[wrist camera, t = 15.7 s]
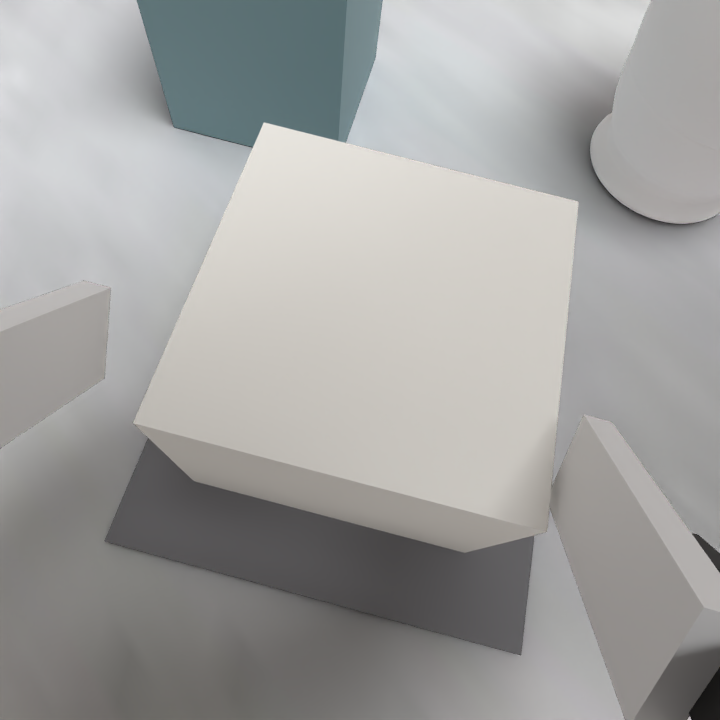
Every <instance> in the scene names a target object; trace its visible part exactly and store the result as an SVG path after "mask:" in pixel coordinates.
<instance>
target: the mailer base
mask: <svg viewBox="0 0 720 720" xmlns="http://www.w3.org/2000/svg"><path fill="white" fill-rule="evenodd" d="M137 3H138V6H139V9H140V13H141V16H142V20H143V23H144V26H145V30H146V33H147V37H148V40H149V44H150V47H151V50H152V54H153V57H154V61H155V64H156V67H157V71H158V74H159V78H160V81H161V85H162V88H163V91H164V95H165V98H166V102H167V105H168V108H169V112H170V115H171V119H172V122H173V126H174V127H176V128H180V129H184V130H188V131H192V132H196V133H199V134H203V135H207V136H211V137H215V138H219V139H223V140H227V141H231V142H234V143H238V144H242V145H246V146H250V147H253V146H254V144H255V142H256V139H257V137H258V135H259V132H260V130H261V128H262V125H263V123H264V122H265V123H269V124H273V125H276V126H280V127H284V128H288V129H292V130H296V131H300V132H304V133H308V134H312V135H316V136H320V137H324V138H328V139H332V140H336V141H340V142H344V143H346V140H347V137H348V135H349V132H350V129H351V126H352V123H353V120H354V117H355V115H356V112H357V109H358V106H359V103H360V100H361V97H362V95H363V92H364V89H365V86H366V83H367V80H368V77H369V75H370V72H371V69H372V66H373V63H374V60H375V57H376V49H377V41H378V33H379V25H380V17H381V9H382V0H137Z"/></svg>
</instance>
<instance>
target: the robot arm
mask: <svg viewBox="0 0 720 720" xmlns="http://www.w3.org/2000/svg"><path fill="white" fill-rule="evenodd" d="M110 295H111V288H110V287H107V286H103V285H99V284H96V283H92V282H88V281H81V282H78V283H75V284H72V285H69V286H66V287H64V288H61V289H58V290H55V291H52V292H49V293H46V294H43V295H40V296H38V297H35V298H32V299H29V300H26V301H23V302H20V303H17V304H14V305H11V306H9V307H6V308H3V309H0V448H2V447H3V446H5V445H6V444H8V443H9V442H11V441H12V440H14V439H15V438H17V437H18V436H19V435H21V434H22V433H24V432H25V431H27V430H28V429H30V428H31V427H33V426H34V425H36V424H37V423H39V422H40V421H42V420H43V419H45V418H46V417H48V416H49V415H51V414H52V413H54V412H55V411H57V410H58V409H60V408H61V407H63V406H64V405H66V404H67V403H69V402H70V401H72V400H73V399H75V398H76V397H78V396H79V395H81V394H82V393H84V392H85V391H87V390H88V389H90V388H91V387H92V386H94V385H95V384H97V383H98V382H100V381H101V380H103V379H104V378H105V367H106V353H107V338H108V324H109V309H110ZM550 510H551V513H552V516H553V518H554V521H555V524H556V527H557V530H558V532H559V535H560V538H561V541H562V544H563V546H564V549H565V552H566V555H567V558H568V560H569V563H570V566H571V569H572V572H573V575H574V577H575V580H576V583H577V586H578V589H579V591H580V594H581V597H582V600H583V603H584V605H585V608H586V611H587V614H588V617H589V620H590V622H591V625H592V628H593V631H594V634H595V636H596V639H597V642H598V645H599V648H600V650H601V653H602V656H603V659H604V662H605V665H606V667H607V670H608V673H609V676H610V679H611V681H612V684H613V687H614V690H615V693H616V695H617V698H618V701H619V704H620V707H621V709H622V712H623V715H624V718H625V720H687V719H688V717H689V716H690V717H691V719H692V720H720V553H718V552H717V551H716V550H715V549H714V548H713V547H712V546H710V545H709V544H708V543H707V542H706V541H705V540H704V539H702V538H701V537H700V536H699V535H697V534H693V533H691V532H690V531H689V529H688V528H687V526H686V525H685V524H684V522H683V521H682V519H681V518H680V517H679V515H678V514H677V512H676V511H675V510H674V508H673V507H672V505H671V504H670V503H669V501H668V500H667V498H666V497H665V496H664V494H663V493H662V491H661V490H660V489H659V487H658V486H657V484H656V483H655V482H654V480H653V479H652V477H651V476H650V474H649V473H648V472H647V470H646V469H645V467H644V466H643V465H642V463H641V462H640V460H639V459H638V458H637V456H636V455H635V453H634V452H633V451H632V449H631V448H630V446H629V445H628V444H627V442H626V441H625V439H624V438H623V437H622V435H621V434H620V432H619V431H618V430H617V428H616V427H615V425H614V424H613V423H612V422H611V421H607V420H603V419H599V418H596V417H592V416H588V415H583V417H582V419H581V422H580V424H579V426H578V428H577V431H576V433H575V435H574V438H573V440H572V442H571V444H570V447H569V449H568V451H567V453H566V456H565V458H564V460H563V462H562V465H561V467H560V469H559V471H558V474H557V476H556V478H555V481H554V483H553V485H552V487H551V497H550Z"/></svg>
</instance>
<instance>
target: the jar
mask: <svg viewBox="0 0 720 720" xmlns="http://www.w3.org/2000/svg"><path fill="white" fill-rule="evenodd" d="M590 155H591V161H592V164H593V167H594V170H595V172H596V174H597V176H598V178H599V180H600V181H601V183H602V184H603V185H604V187H605V188H606V189H607V190H608V191H609V192H610V193H611V194H612V195H613V196H614V197H615V198H616V199H617V200H618V201H620V202H621V203H622V204H624V205H625V206H627V207H628V208H630V209H631V210H633V211H635V212H637V213H639V214H641V215H643V216H646V217H648V218H651V219H654V220H658V221H662V222H667V223H676V224H687V223H695V222H700V221H704V220H706V219H709V218H711V217H713V216H715V215H717V214H718V213H720V0H651V2H650V4H649V6H648V8H647V11H646V13H645V15H644V18H643V20H642V23H641V25H640V28H639V31H638V33H637V36H636V39H635V42H634V45H633V47H632V49H631V51H630V53H629V55H628V57H627V60H626V62H625V64H624V67H623V70H622V72H621V75H620V78H619V81H618V84H617V88H616V92H615V97H614V103H613V111H612V112H611V113H610V114H609V115H607V116H606V117H605V118H604V119H603V120H602V121H601V122H600V123H599V125H598V126H597V127H596V129H595V131H594V133H593V136H592V139H591V145H590Z"/></svg>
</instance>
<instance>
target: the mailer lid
mask: <svg viewBox="0 0 720 720" xmlns="http://www.w3.org/2000/svg"><path fill="white" fill-rule="evenodd" d="M578 203H579V202H578V201H574V200H570V199H566V198H562V197H558V196H555V195H551V194H547V193H543V192H539V191H535V190H531V189H527V188H523V187H519V186H515V185H511V184H507V183H503V182H499V181H495V180H491V179H487V178H483V177H479V176H475V175H471V174H467V173H463V172H459V171H455V170H451V169H447V168H443V167H439V166H435V165H431V164H427V163H423V162H419V161H415V160H412V159H408V158H404V157H400V156H396V155H392V154H388V153H384V152H380V151H376V150H372V149H368V148H364V147H360V146H356V145H352V144H348V143H344V142H340V141H336V140H332V139H328V138H324V137H320V136H316V135H312V134H308V133H304V132H300V131H296V130H292V129H288V128H284V127H280V126H276V125H273V124H269V123H265V122H264V123H263V125H262V128H261V130H260V132H259V135H258V137H257V139H256V142H255V144H254V146H253V148H252V151H251V153H250V155H249V158H248V160H247V162H246V164H245V167H244V169H243V171H242V174H241V176H240V178H239V180H238V183H237V185H236V187H235V190H234V192H233V194H232V197H231V199H230V201H229V203H228V206H227V208H226V210H225V213H224V215H223V217H222V219H221V222H220V224H219V226H218V229H217V231H216V233H215V235H214V238H213V240H212V242H211V245H210V247H209V249H208V252H207V254H206V256H205V258H204V261H203V263H202V265H201V268H200V270H199V272H198V274H197V277H196V279H195V281H194V284H193V286H192V288H191V290H190V293H189V295H188V297H187V300H186V302H185V304H184V306H183V309H182V311H181V313H180V316H179V318H178V320H177V323H176V325H175V327H174V329H173V332H172V334H171V336H170V339H169V341H168V343H167V345H166V348H165V350H164V352H163V355H162V357H161V359H160V361H159V364H158V366H157V368H156V371H155V373H154V375H153V378H152V380H151V382H150V384H149V387H148V389H147V391H146V394H145V396H144V398H143V400H142V403H141V405H140V407H139V410H138V412H137V414H136V416H135V419H134V421H133V424H134V425H135V426H136V427H137V428H138V429H140V430H141V431H142V432H143V433H144V434H145V435H146V436H147V437H148V438H149V439H150V440H151V441H152V442H153V443H154V444H155V445H156V446H157V447H158V448H159V449H161V450H162V451H163V452H164V453H165V454H166V455H167V456H168V457H169V458H170V459H171V460H172V461H173V462H174V463H175V464H176V465H177V466H178V467H179V468H180V469H182V470H183V471H184V472H185V473H186V474H187V475H188V476H189V477H190V478H191V479H192V480H193V481H195V482H199V483H203V484H206V485H210V486H214V487H218V488H221V489H225V490H229V491H233V492H237V493H240V494H244V495H248V496H252V497H255V498H259V499H263V500H267V501H271V502H274V503H278V504H282V505H286V506H289V507H293V508H297V509H301V510H305V511H308V512H312V513H316V514H320V515H323V516H327V517H331V518H335V519H339V520H342V521H346V522H350V523H354V524H357V525H361V526H365V527H369V528H373V529H376V530H380V531H384V532H388V533H391V534H395V535H399V536H403V537H407V538H410V539H414V540H418V541H422V542H425V543H429V544H433V545H437V546H441V547H444V548H448V549H452V550H456V551H459V552H463V553H466V552H470V551H474V550H478V549H482V548H486V547H490V546H494V545H498V544H502V543H506V542H510V541H514V540H518V539H522V538H526V537H530V536H534V535H538V534H542V533H546V532H547V528H548V518H549V507H550V497H551V486H552V476H553V465H554V455H555V444H556V434H557V423H558V413H559V402H560V392H561V381H562V371H563V360H564V350H565V339H566V329H567V319H568V308H569V298H570V287H571V277H572V266H573V256H574V245H575V235H576V224H577V214H578Z"/></svg>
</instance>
